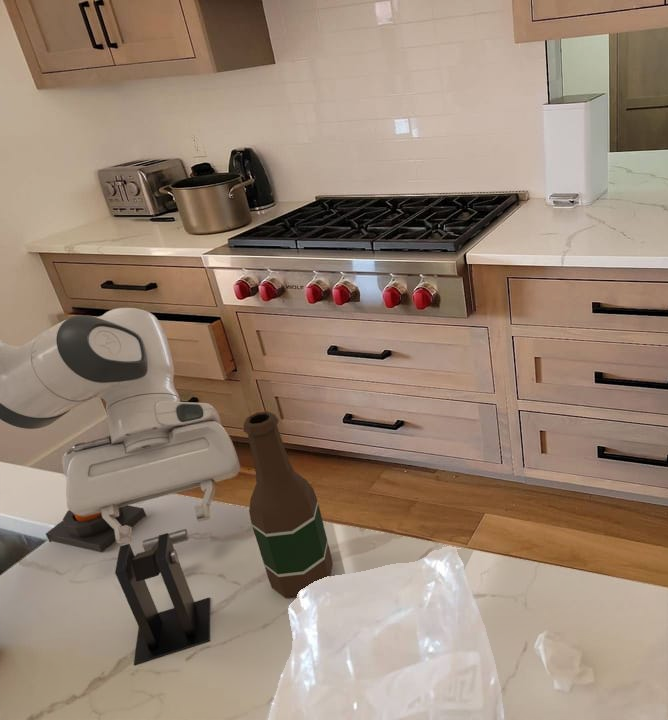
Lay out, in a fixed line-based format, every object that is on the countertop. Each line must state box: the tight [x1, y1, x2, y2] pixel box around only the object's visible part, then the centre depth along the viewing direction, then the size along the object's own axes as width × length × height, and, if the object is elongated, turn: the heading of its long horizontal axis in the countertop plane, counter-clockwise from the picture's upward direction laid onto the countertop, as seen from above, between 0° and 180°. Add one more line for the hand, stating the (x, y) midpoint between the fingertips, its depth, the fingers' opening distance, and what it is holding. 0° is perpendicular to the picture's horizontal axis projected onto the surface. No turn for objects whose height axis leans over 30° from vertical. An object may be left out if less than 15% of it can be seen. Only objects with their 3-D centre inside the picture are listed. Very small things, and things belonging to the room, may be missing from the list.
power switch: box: [114, 532, 212, 666], centre depth 76 cm, size 7×8×13 cm
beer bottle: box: [243, 410, 334, 600], centre depth 79 cm, size 8×8×24 cm
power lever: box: [131, 528, 190, 582], centre depth 79 cm, size 13×5×2 cm, turn 20°
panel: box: [45, 505, 147, 553], centre depth 96 cm, size 10×8×4 cm
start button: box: [74, 513, 102, 522], centre depth 95 cm, size 4×4×2 cm
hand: (165, 530), depth 85 cm, fingers open, 8 cm apart
